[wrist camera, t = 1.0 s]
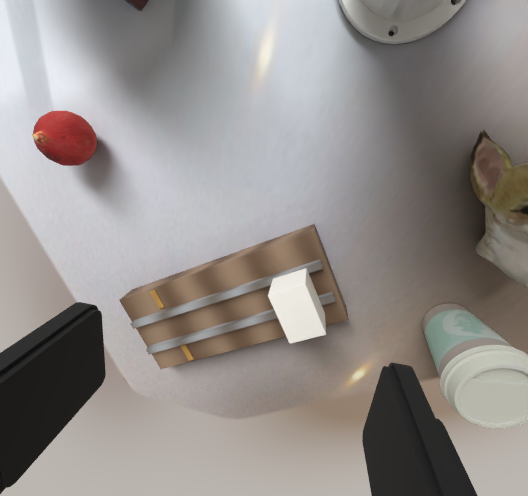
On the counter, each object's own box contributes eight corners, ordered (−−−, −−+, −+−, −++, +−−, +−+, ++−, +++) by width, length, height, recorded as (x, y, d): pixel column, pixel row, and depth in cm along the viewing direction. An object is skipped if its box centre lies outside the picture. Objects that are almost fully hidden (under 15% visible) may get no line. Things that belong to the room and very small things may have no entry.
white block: (306, 261, 35) (305, 284, 30) (324, 304, 37) (326, 334, 31) (275, 271, 36) (267, 295, 31) (293, 313, 38) (289, 343, 32)
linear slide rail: (314, 224, 37) (314, 233, 33) (346, 307, 40) (349, 324, 36) (131, 290, 44) (114, 303, 41) (169, 355, 48) (157, 374, 44)
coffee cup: (500, 316, 37) (579, 391, 26) (450, 361, 40) (502, 447, 29) (441, 280, 37) (496, 342, 26) (396, 329, 40) (427, 403, 29)
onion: (106, 170, 39) (57, 178, 31) (65, 152, 39) (6, 155, 32) (115, 124, 37) (64, 121, 29) (71, 105, 37) (10, 97, 29)
